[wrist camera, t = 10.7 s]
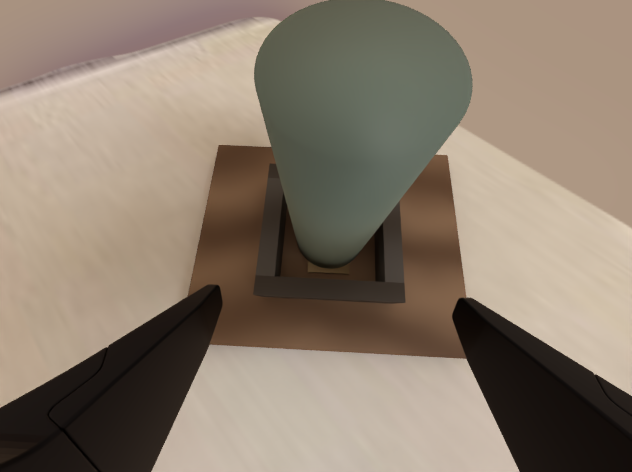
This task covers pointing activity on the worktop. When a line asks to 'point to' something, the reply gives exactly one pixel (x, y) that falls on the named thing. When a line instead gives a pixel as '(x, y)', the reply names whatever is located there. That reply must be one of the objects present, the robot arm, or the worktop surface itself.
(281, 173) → the grey-green canister
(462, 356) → the walnut seat board
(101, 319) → the worktop surface
